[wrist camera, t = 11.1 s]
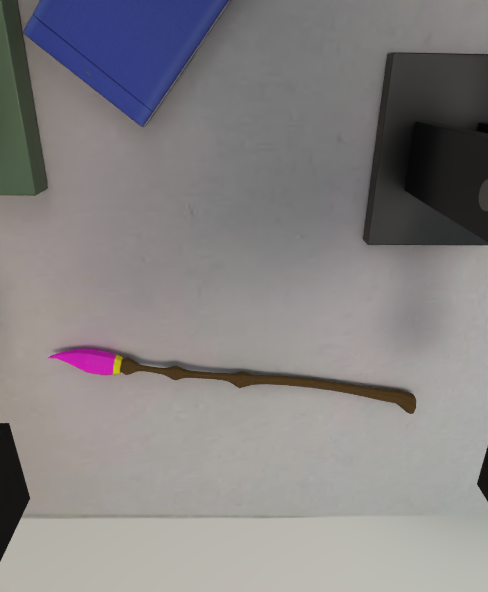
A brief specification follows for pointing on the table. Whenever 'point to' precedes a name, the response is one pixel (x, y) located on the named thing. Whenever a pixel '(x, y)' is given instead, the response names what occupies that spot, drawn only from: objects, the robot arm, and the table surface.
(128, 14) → the hard drive
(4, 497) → the robot arm
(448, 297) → the table surface
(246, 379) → the magic wand
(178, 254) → the table surface
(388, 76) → the lever bracket
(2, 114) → the button block
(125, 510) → the table surface
